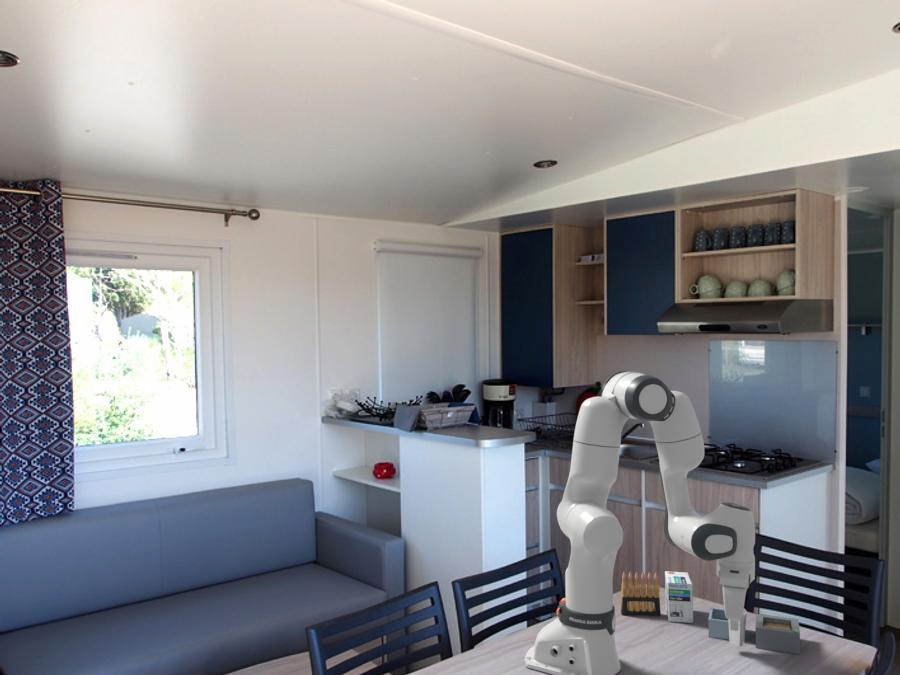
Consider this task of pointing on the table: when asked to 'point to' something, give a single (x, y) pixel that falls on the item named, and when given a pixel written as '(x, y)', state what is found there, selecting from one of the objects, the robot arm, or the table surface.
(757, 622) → the square frame
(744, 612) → the milkshake
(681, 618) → the light bulb box
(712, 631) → the bin
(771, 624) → the plain tan rectangular plate
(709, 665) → the table surface
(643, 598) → the ammunition clip
